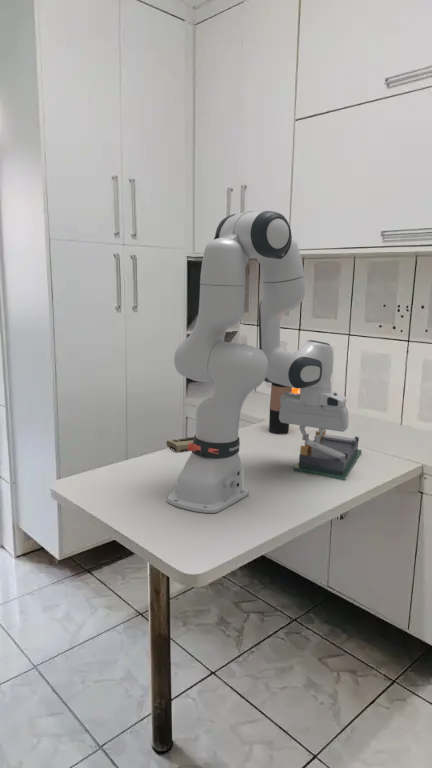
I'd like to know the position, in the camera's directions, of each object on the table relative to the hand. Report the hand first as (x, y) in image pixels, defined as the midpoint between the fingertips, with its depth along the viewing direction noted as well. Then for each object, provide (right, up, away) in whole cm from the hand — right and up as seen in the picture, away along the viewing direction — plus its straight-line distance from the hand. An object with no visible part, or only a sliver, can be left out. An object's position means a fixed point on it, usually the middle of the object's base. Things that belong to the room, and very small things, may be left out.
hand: (311, 441), depth 155 cm
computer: (-36, -4, +17) cm, 40 cm away
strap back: (+11, -1, +15) cm, 19 cm away
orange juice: (+5, +5, +68) cm, 68 cm away
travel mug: (-5, -1, +38) cm, 38 cm away
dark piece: (+7, -7, +8) cm, 13 cm away
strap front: (+4, -3, -2) cm, 5 cm away
